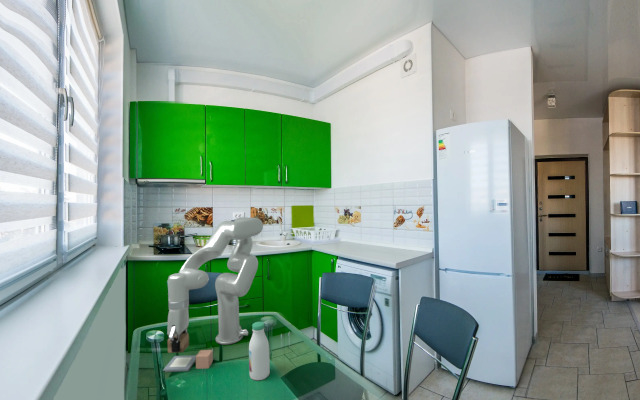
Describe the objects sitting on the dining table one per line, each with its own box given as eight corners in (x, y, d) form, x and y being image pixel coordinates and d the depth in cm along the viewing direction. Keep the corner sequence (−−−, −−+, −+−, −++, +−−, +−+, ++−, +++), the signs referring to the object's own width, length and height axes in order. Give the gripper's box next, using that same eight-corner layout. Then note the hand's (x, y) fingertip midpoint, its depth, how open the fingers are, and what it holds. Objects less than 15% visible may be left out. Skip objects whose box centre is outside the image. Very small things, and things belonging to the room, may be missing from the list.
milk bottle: (273, 370, 120) (272, 320, 119) (263, 382, 112) (262, 329, 112) (256, 367, 122) (254, 318, 122) (245, 378, 115) (244, 326, 114)
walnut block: (188, 345, 128) (188, 333, 128) (182, 352, 122) (182, 340, 122) (174, 345, 128) (174, 333, 128) (167, 352, 122) (167, 340, 122)
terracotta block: (212, 361, 127) (212, 349, 127) (208, 368, 122) (208, 356, 122) (200, 361, 127) (200, 350, 127) (196, 368, 122) (195, 356, 122)
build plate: (198, 357, 131) (197, 355, 131) (188, 370, 121) (188, 368, 121) (174, 357, 131) (174, 355, 131) (163, 371, 121) (162, 369, 121)
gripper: (178, 297, 133) (179, 337, 134) (158, 312, 116) (159, 359, 116) (196, 296, 133) (196, 337, 134) (178, 312, 116) (179, 358, 117)
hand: (179, 347), depth 125 cm, fingers closed on walnut block, 6 cm apart
